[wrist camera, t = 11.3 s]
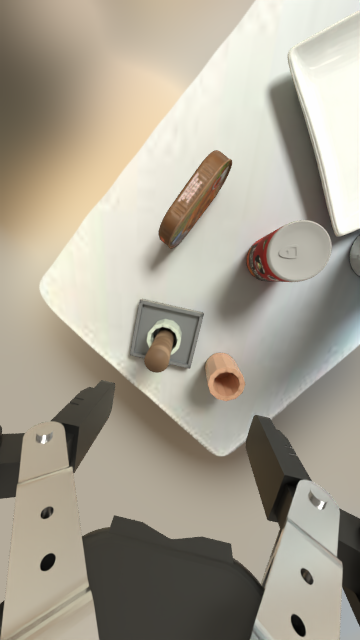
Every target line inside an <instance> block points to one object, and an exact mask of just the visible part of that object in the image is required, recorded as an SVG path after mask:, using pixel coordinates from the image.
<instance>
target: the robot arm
mask: <svg viewBox="0 0 360 640" xmlns="http://www.w3.org/2000/svg"><path fill="white" fill-rule="evenodd" d="M350 264H351V267H352V269H353V270H354V272H355V273H356V274H357V275H358V276H360V235H359V236H358V237H357V239H356V240H355V241H354V243H353V245H352V248H351V251H350ZM114 390H115V383H112V382H107V381H103V380H101V381H100V382H99V383H98V384H97V386H96V387H95V388H91V387H89V388H87V389H84V390H82V391H81V392H80V393H79V394H78V395H76V397H75V398H74V399H72V400H71V401H70V403H69V404H67V405H66V406H65V408H63V409H62V410H61V411H60V412H59V413H58V414H57V415H56V416H55V417H54V418H53V419H52V420H51V421H50V422H43V423H40V424H37V425H35V426H33V427H31V428H30V429H29V430H28V431H27V432H26V433H20V434H2V427H1V426H0V499H1V498H10V497H16V500H15V509H14V518H13V527H12V537H11V547H10V555H9V565H8V574H7V583H6V592H5V600H4V601H3V602H2V603H1V604H0V640H340V620H341V619H340V618H341V596H342V588H343V590H344V592H345V594H346V597H347V599H348V601H349V603H350V606H351V608H352V610H353V612H354V615H355V617H356V619H357V622H358V624H359V626H360V519H359V518H357V517H355V516H353V515H351V514H349V513H347V512H345V511H343V510H341V509H340V508H339V507H338V505H337V503H336V501H335V500H334V498H333V497H332V496H331V495H330V494H329V493H328V492H327V491H326V490H325V489H324V488H322V487H321V486H319V485H318V484H316V483H314V482H312V480H311V479H310V477H309V475H308V474H307V472H306V470H305V468H304V467H303V465H302V463H301V461H300V460H299V458H298V457H297V456H296V453H295V451H294V449H292V446H291V444H290V442H289V441H288V439H287V438H286V437H285V436H284V435H283V434H282V433H281V432H280V431H279V430H276V428H275V426H274V425H273V423H272V421H271V419H270V418H267V417H262V416H258V415H255V416H254V417H253V420H252V423H251V426H250V430H249V433H248V436H247V440H246V450H247V454H248V457H249V460H250V464H251V467H252V471H253V474H254V477H255V480H256V484H257V487H258V490H259V494H260V497H261V500H262V504H263V507H264V510H265V514H266V517H267V520H269V521H273V522H278V524H279V526H280V530H279V533H278V536H277V538H276V541H275V544H274V547H273V550H272V553H271V556H270V559H269V562H268V565H267V568H266V570H265V573H264V576H263V579H262V582H261V584H260V583H259V581H258V580H257V579H256V578H255V577H254V576H253V574H252V573H251V572H250V571H249V570H248V569H246V568H245V567H244V566H243V565H242V564H241V563H239V562H238V561H237V560H235V559H234V558H233V556H232V549H231V544H230V543H225V542H221V541H217V540H213V539H209V538H205V537H194V538H183V539H170V538H168V537H166V536H164V535H163V534H161V533H159V532H157V531H156V530H154V529H153V528H151V527H149V526H148V525H146V524H144V523H143V522H139V521H135V520H131V519H127V518H123V517H119V516H114V518H113V520H112V523H111V527H108V528H102V529H98V530H95V531H92V532H90V533H88V534H86V535H84V536H82V534H81V527H80V519H79V512H78V505H77V497H76V490H75V482H74V475H73V473H75V471H76V469H77V468H78V466H79V465H80V463H81V461H82V460H83V458H84V456H85V455H86V453H87V452H88V450H89V448H90V447H91V445H92V443H93V442H94V440H95V439H96V437H97V435H98V434H99V432H100V430H101V429H102V427H103V426H104V424H105V423H106V421H107V419H108V418H109V415H110V413H111V409H112V404H113V397H114Z"/></svg>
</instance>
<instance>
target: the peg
mask: <svg viewBox="0 0 360 640" xmlns="http://www.w3.org/2000/svg"><path fill="white" fill-rule="evenodd" d="M174 337H175V333H174V332H173V331H172V330H171V329H170V328H166V327H162V328H161V329H160V330H159V332H158V333H157V335H156V337H155V339H154V341H153V343H152V345H151V346H150V348H149V350H148V352H147V354H146V356H145V359H144V362H145V365H146V367H147V368H148V369H149V370H150V371H152V372H162V371H164V370H165V369H166V368H167V366H168V364H169V359H170V355H171V350H172V346H173V341H174Z"/></svg>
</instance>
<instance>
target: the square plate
mask: <svg viewBox="0 0 360 640" xmlns="http://www.w3.org/2000/svg"><path fill="white" fill-rule="evenodd" d="M288 63H289V68H290V72H291V75H292V79H293V82H294V85H295V89H296V92H297V95H298V99H299V102H300V105H301V108H302V111H303V114H304V118H305V121H306V125H307V128H308V132H309V135H310V139H311V142H312V146H313V149H314V153H315V157H316V161H317V165H318V169H319V173H320V177H321V182H322V186H323V190H324V195H325V200H326V204H327V208H328V212H329V215H330V219H331V224H332V228H333V231H334V234H335V235H336V236H337V237H340V236H344V235H346V234H349V233H351V232H354V231H356V230H358V229H360V10H359V11H357V12H355V13H353V14H352V15H350V16H348V17H346V18H344V19H342V20H340V21H338V22H337V23H335V24H333V25H331V26H329V27H328V28H326V29H324V30H322V31H320V32H318V33H316V34H314V35H313V36H311V37H309V38H307V39H306V40H304V41H302V42H301V43H299V44H297V45H296V46H294V47H292V48H291V49H290V51H289V52H288Z"/></svg>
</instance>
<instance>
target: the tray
mask: <svg viewBox="0 0 360 640" xmlns="http://www.w3.org/2000/svg"><path fill="white" fill-rule="evenodd" d="M203 315H204V314H203V313H202V312H198V311H194V310H189V309H185V308H180V307H176V306H171V305H167V304H163V303H158V302H154V301H149V300H145V299H141V300H140V302H139V308H138V313H137V319H136V324H135V330H134V335H133V341H132V346H131V352H130V355H132V356H136V357H141V358H145V356H146V354H147V352H148V350H149V346H148V343H147V336H148V332H149V331H150V329H151V328H152V327H153V326H154V325H155V323H156V322H157V321H160V320H163V319H168V320H173V321H174V322H175V323H177V324H178V325H179V326H180V330H181V333H182V336H181V342H180V346H179V349H178V350H177V351H176V352H175V353H174V354H172V355H170V359H169V364H172V365H176V366H181V367H185V368H190V367H191V363H192V359H193V355H194V351H195V347H196V343H197V339H198V335H199V331H200V327H201V323H202V319H203ZM161 328H162V327H161ZM161 328H157V329H156V330H155V332H154V336H155V337H156V335H157V333H158V332H159V330H160V329H161ZM176 340H177V337H176V334H175V337H174V341H173V344H174V343H175V341H176Z"/></svg>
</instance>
